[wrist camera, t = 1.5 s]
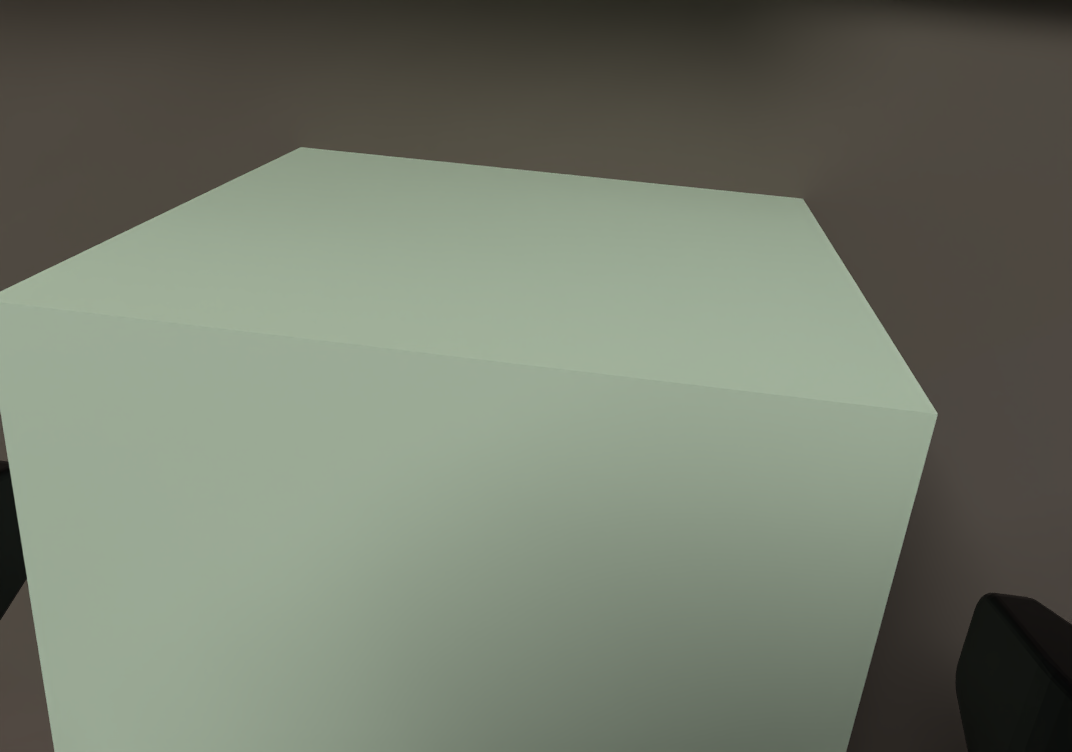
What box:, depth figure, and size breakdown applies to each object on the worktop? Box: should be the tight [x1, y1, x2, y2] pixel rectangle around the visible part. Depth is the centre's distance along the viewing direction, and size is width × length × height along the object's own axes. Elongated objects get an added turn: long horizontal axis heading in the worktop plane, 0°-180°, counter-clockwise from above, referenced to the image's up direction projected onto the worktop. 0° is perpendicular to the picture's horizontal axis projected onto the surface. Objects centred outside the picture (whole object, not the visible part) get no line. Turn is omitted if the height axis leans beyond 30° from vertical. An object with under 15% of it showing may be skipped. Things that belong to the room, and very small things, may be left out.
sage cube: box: [0, 147, 938, 752], centre depth 10 cm, size 6×6×6 cm
